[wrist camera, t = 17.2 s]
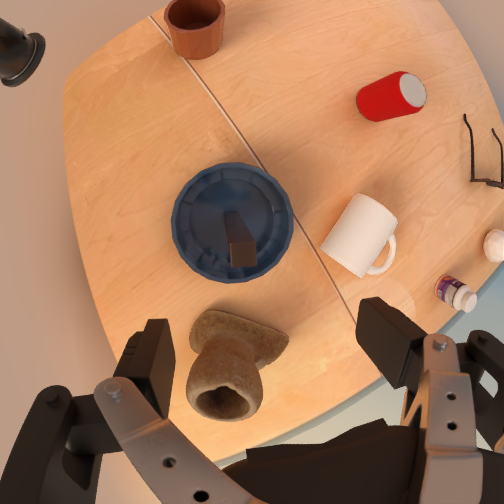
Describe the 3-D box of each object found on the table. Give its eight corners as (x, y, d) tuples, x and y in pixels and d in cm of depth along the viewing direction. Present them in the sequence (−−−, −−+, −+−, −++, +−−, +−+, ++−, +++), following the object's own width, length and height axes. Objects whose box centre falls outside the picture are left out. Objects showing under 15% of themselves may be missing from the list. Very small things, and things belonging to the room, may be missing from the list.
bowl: (183, 271, 41) (178, 287, 35) (174, 168, 37) (166, 167, 31) (283, 264, 43) (293, 278, 37) (281, 163, 38) (292, 161, 33)
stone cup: (178, 352, 45) (169, 415, 30) (205, 297, 42) (202, 355, 28) (255, 377, 48) (269, 439, 34) (287, 329, 46) (314, 388, 32)
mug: (311, 242, 42) (332, 258, 35) (346, 190, 41) (373, 194, 33) (362, 278, 45) (386, 297, 38) (393, 231, 44) (421, 242, 36)
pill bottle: (453, 276, 49) (482, 292, 40) (444, 298, 50) (471, 317, 41) (439, 271, 48) (470, 289, 38) (430, 295, 49) (459, 315, 40)
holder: (172, 62, 32) (162, 36, 23) (174, 24, 30) (166, -5, 21) (222, 58, 33) (224, 30, 24) (222, 21, 31) (224, -10, 22)
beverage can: (346, 100, 37) (388, 81, 25) (367, 81, 36) (410, 61, 24) (371, 129, 38) (417, 120, 27) (390, 109, 38) (437, 97, 26)
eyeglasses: (463, 180, 43) (480, 182, 38) (461, 112, 39) (477, 110, 34) (494, 187, 45) (509, 190, 40) (493, 128, 41) (508, 128, 36)
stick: (224, 225, 39) (231, 268, 22) (223, 211, 38) (230, 243, 21) (238, 224, 39) (256, 266, 22) (237, 210, 39) (256, 241, 21)
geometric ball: (480, 245, 51) (495, 271, 47) (475, 238, 47) (492, 266, 42) (499, 227, 47) (515, 252, 42) (497, 218, 42) (515, 246, 38)
